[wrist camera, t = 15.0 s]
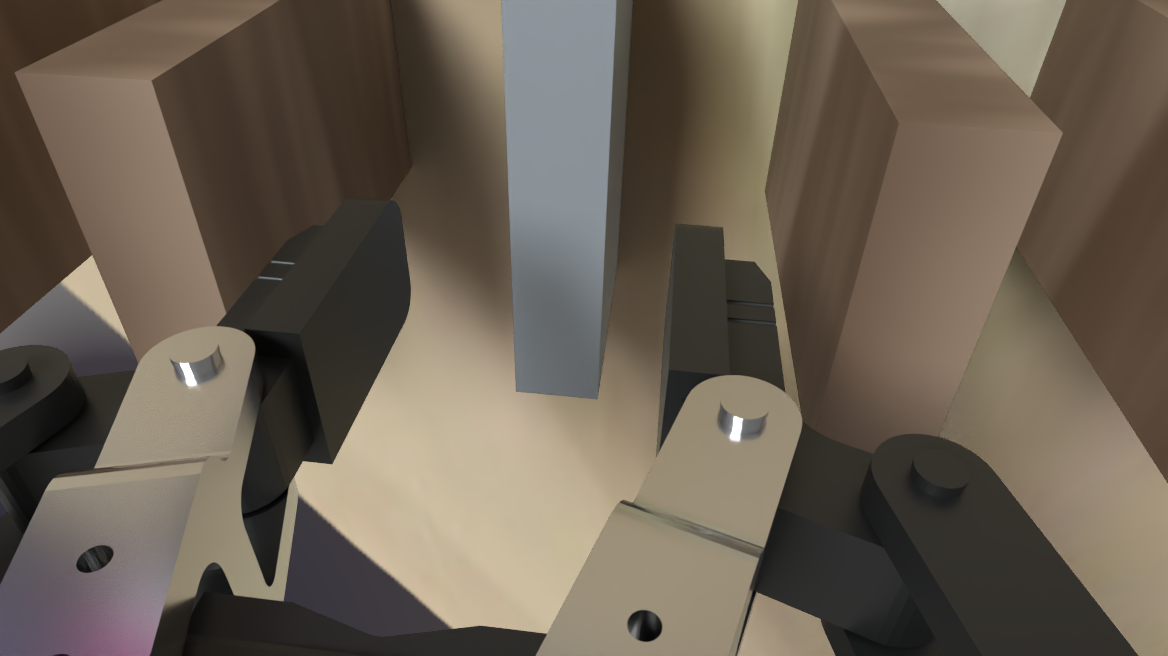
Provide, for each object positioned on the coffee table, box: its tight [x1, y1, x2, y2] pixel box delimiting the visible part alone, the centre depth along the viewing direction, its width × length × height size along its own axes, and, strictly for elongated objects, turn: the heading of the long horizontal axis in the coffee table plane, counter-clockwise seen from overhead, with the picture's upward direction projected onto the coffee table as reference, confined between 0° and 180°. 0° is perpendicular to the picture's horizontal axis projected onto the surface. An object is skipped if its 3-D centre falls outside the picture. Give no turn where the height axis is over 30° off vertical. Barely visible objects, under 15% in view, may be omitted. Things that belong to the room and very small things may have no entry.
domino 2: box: [15, 0, 411, 363], centre depth 16 cm, size 2×6×10 cm, turn 179°
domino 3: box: [765, 0, 1063, 454], centre depth 16 cm, size 2×6×10 cm, turn 179°
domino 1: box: [0, 0, 162, 333], centre depth 17 cm, size 2×6×10 cm, turn 179°
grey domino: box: [501, 0, 633, 399], centre depth 18 cm, size 2×6×10 cm
